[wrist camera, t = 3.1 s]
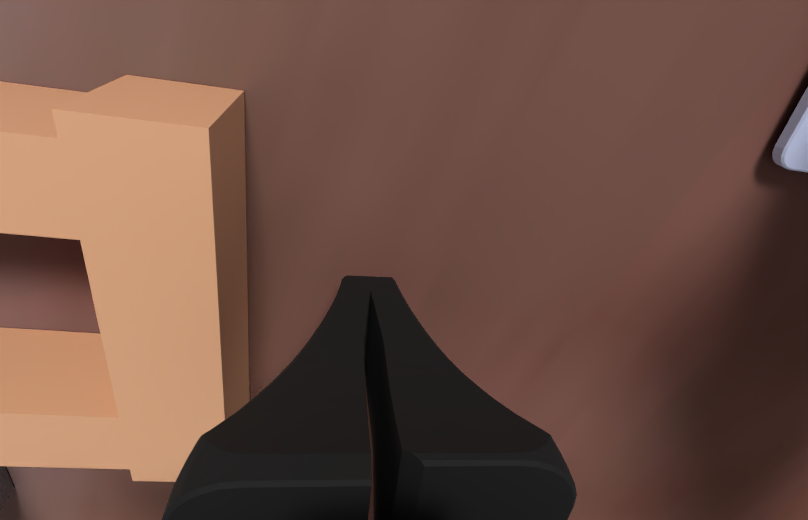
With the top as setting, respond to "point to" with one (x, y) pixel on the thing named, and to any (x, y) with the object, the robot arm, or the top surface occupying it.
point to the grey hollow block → (5, 485)
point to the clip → (128, 272)
